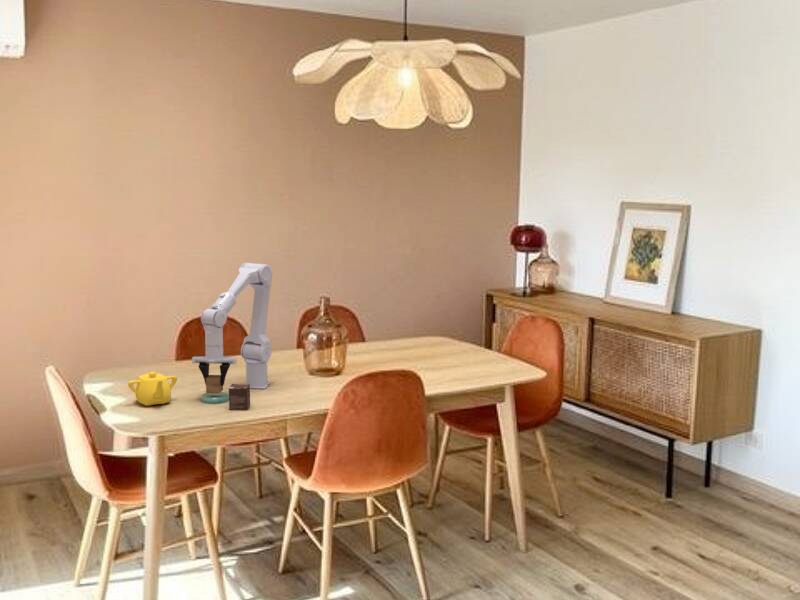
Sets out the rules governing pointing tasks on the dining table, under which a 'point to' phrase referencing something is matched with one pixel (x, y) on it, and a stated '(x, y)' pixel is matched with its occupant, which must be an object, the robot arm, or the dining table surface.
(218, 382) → the walnut block
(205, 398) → the coaster
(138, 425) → the dining table surface
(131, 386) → the teapot
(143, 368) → the dining table surface
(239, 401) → the box
